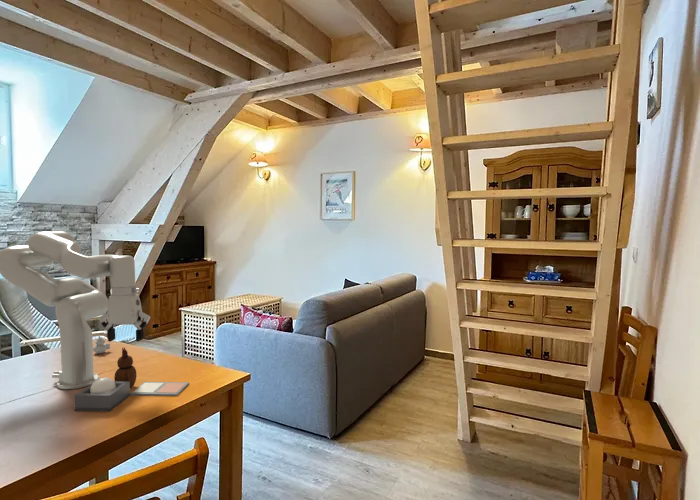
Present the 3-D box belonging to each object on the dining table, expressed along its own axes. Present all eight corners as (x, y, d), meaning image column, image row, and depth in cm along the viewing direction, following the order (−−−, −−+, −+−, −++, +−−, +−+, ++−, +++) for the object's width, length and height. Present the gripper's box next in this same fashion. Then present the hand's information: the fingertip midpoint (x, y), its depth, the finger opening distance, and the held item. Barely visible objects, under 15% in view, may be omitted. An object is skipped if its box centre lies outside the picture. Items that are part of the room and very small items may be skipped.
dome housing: (74, 410, 125) (74, 395, 125) (97, 395, 136) (96, 381, 136) (110, 411, 125) (109, 395, 124) (130, 396, 136) (129, 381, 135)
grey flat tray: (129, 395, 136) (129, 393, 136) (144, 383, 146) (144, 381, 146) (176, 395, 136) (176, 393, 136) (189, 384, 146) (188, 382, 146)
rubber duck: (92, 352, 179) (91, 335, 179) (109, 349, 184) (108, 332, 183) (94, 355, 175) (93, 337, 175) (111, 352, 180) (111, 334, 179)
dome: (85, 404, 127) (84, 382, 126) (99, 394, 134) (98, 373, 133) (107, 404, 127) (106, 382, 126) (120, 394, 134) (119, 374, 133)
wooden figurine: (126, 392, 138) (124, 349, 137) (111, 391, 140) (110, 348, 138) (140, 384, 145) (138, 343, 144) (126, 383, 146) (124, 342, 145)
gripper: (153, 289, 143) (155, 337, 145) (105, 289, 144) (107, 337, 145) (142, 293, 136) (144, 343, 137) (91, 293, 136) (94, 343, 137)
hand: (125, 340), depth 141 cm, fingers open, 9 cm apart
